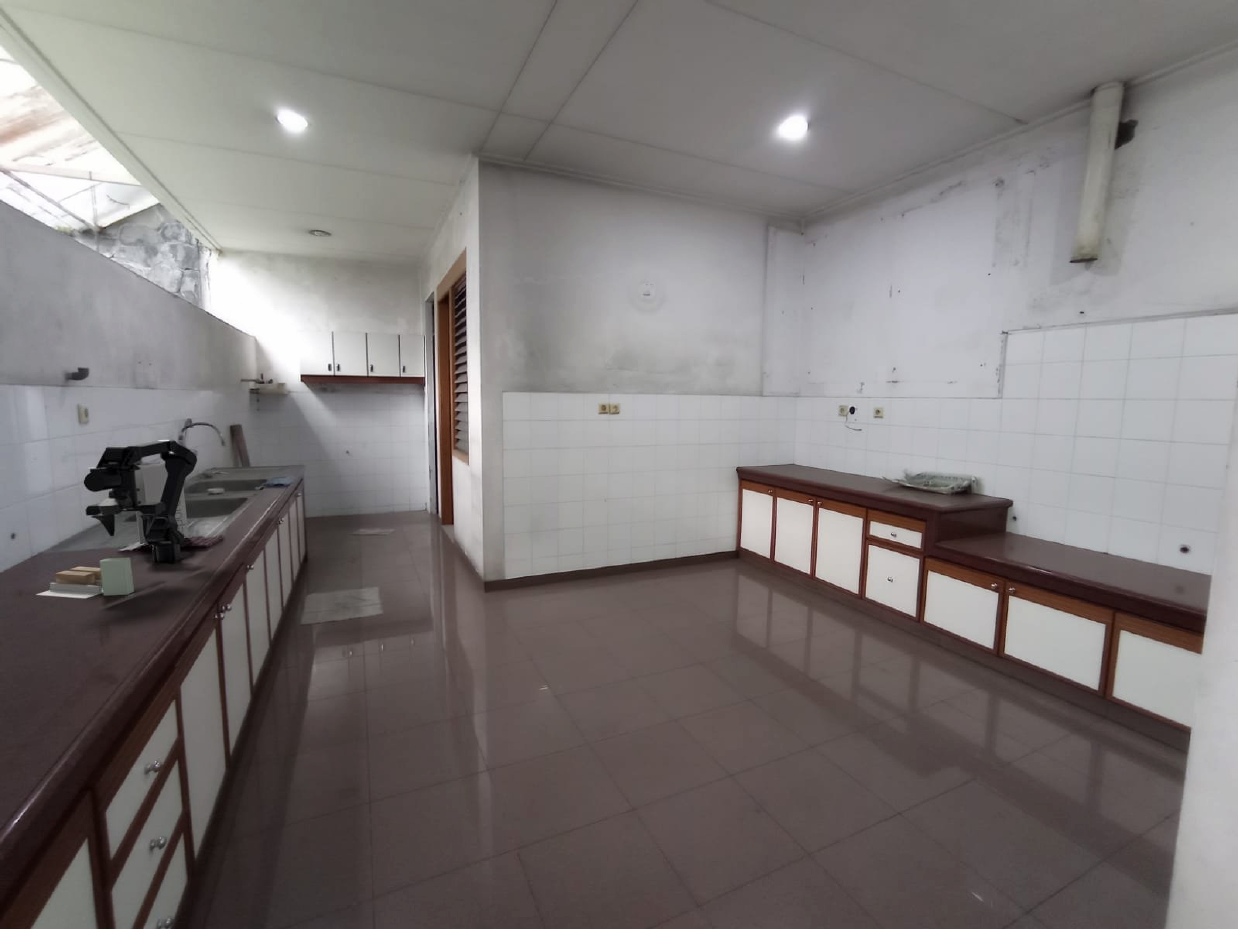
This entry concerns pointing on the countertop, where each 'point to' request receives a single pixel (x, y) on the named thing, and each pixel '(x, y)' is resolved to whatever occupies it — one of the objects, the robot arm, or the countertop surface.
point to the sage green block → (116, 576)
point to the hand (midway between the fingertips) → (129, 535)
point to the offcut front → (89, 569)
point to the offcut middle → (75, 578)
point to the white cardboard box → (157, 495)
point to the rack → (74, 590)
